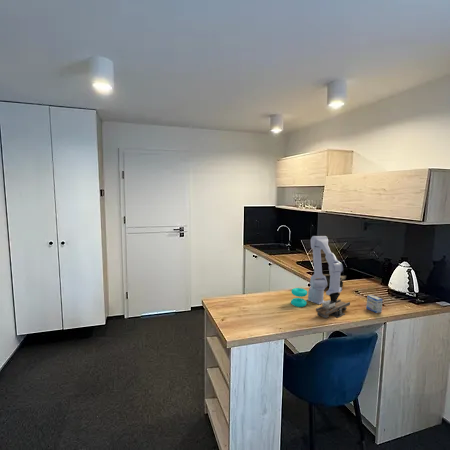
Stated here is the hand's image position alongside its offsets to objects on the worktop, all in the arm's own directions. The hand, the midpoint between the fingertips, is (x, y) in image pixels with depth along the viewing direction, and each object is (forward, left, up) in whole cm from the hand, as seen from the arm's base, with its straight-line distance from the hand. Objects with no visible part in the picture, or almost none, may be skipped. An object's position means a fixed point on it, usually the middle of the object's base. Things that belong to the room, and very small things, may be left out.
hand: (333, 304), depth 184 cm
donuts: (-21, -6, -6) cm, 23 cm away
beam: (0, 0, -5) cm, 5 cm away
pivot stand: (0, +4, -6) cm, 7 cm away
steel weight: (0, -5, -2) cm, 5 cm away
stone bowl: (-32, +47, -6) cm, 57 cm away
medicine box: (+13, +25, -6) cm, 29 cm away
